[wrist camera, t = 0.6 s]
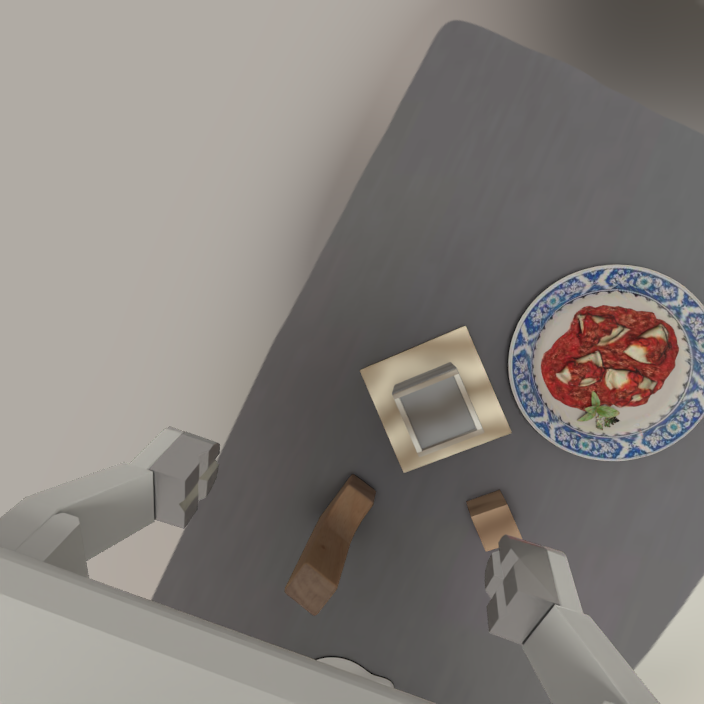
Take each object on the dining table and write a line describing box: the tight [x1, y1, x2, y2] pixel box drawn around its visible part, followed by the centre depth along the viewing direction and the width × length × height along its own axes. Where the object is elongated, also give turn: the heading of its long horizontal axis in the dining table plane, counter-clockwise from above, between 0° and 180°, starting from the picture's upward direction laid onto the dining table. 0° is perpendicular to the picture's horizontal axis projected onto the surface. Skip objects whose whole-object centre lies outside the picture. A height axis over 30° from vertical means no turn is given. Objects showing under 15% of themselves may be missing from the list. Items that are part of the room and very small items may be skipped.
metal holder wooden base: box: [360, 326, 512, 473], centre depth 54 cm, size 16×16×10 cm
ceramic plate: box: [508, 265, 704, 461], centre depth 54 cm, size 26×26×3 cm
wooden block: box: [285, 475, 376, 616], centre depth 53 cm, size 9×4×18 cm, turn 145°
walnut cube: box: [466, 490, 522, 552], centre depth 57 cm, size 5×5×5 cm
